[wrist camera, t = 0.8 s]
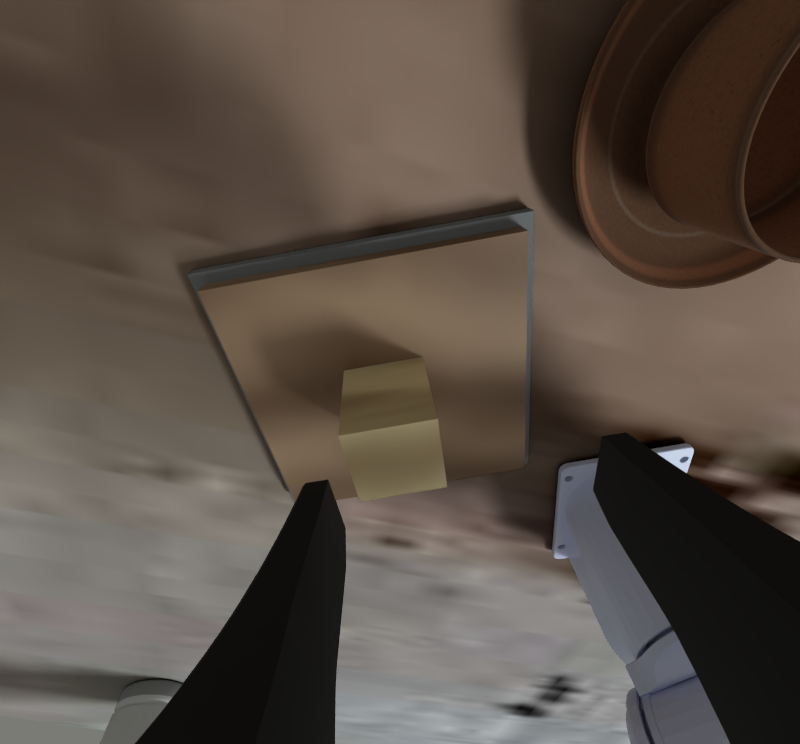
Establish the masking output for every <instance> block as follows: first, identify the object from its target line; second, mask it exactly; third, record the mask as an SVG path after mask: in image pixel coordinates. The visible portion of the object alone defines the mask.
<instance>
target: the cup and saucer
mask: <svg viewBox="0 0 800 744" xmlns="http://www.w3.org/2000/svg"><path fill="white" fill-rule="evenodd" d="M573 183H574V192H575V197H576V202H577V206H578V209H579V213H580V216H581V219H582V221H583V224H584V226H585V228H586V230H587V232H588V234H589V236H590V237H591V239H592V241H593V242H594V244H595V246H596V247H597V248H598V249H599V251H600V252H601V253H602V254H603V256H604V257H605V258H606V259H607V260H608V261H609V262H610V263H611V264H612V265H613V266H615V267H616V268H617V269H619V270H620V271H622V272H623V273H624V274H626V275H628V276H630V277H632V278H634V279H636V280H638V281H641V282H643V283H646V284H650V285H654V286H658V287H665V288H679V289H686V288H698V287H705V286H711V285H715V284H719V283H723V282H727V281H730V280H733V279H736V278H739V277H741V276H744V275H746V274H749V273H751V272H754V271H756V270H758V269H760V268H762V267H764V266H766V265H768V264H770V263H772V262H774V261H775V260H777V259H782V260H785V261H789V262H795V263H800V0H627V1H626V3H625V4H624V6H623V8H622V9H621V11H620V13H619V14H618V16H617V18H616V20H615V21H614V23H613V25H612V27H611V28H610V30H609V32H608V34H607V36H606V38H605V41H604V43H603V45H602V47H601V49H600V51H599V53H598V55H597V58H596V60H595V63H594V65H593V68H592V70H591V73H590V75H589V78H588V81H587V84H586V87H585V91H584V94H583V97H582V101H581V105H580V109H579V113H578V117H577V123H576V129H575V135H574V145H573Z"/></svg>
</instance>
